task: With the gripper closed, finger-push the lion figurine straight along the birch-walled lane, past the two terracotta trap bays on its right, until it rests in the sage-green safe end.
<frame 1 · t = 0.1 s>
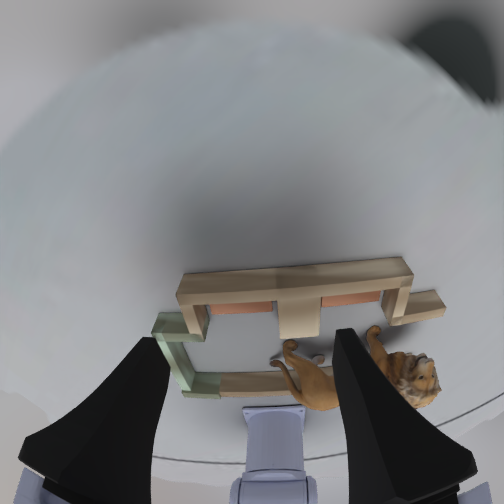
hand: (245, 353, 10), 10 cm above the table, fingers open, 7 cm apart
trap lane: (302, 345, 25), on the table
lion figurine: (347, 338, 24), resting in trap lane
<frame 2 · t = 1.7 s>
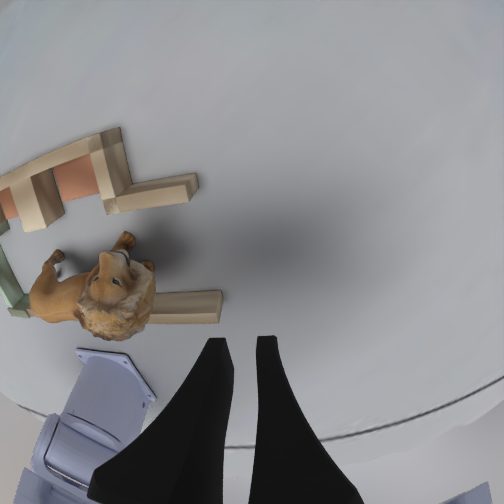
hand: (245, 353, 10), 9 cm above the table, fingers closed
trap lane: (73, 257, 20), on the table
lion figurine: (108, 252, 20), resting in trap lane
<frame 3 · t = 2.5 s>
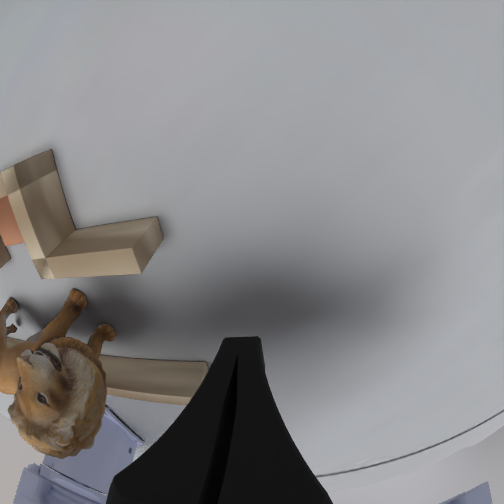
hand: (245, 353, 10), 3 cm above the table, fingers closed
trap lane: (29, 308, 14), on the table
lion figurine: (62, 307, 14), resting in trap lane
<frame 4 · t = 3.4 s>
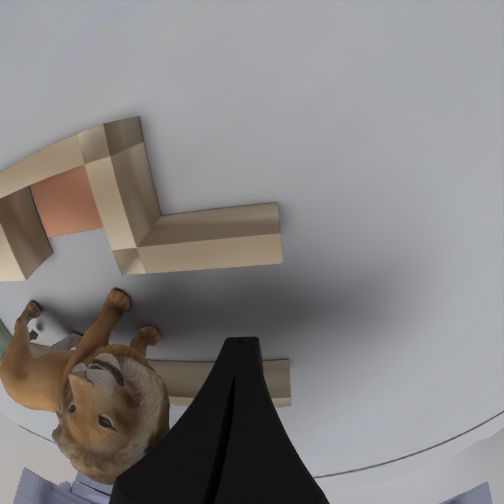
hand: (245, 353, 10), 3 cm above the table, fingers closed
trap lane: (71, 311, 14), on the table
lion figurine: (96, 310, 14), resting in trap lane, touching gripper
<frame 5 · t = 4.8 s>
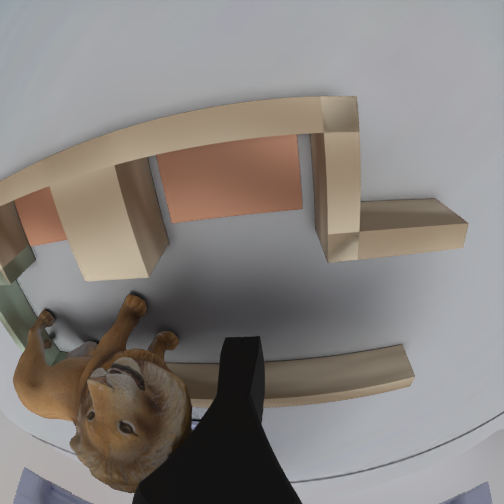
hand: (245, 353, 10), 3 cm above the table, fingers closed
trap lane: (173, 315, 13), on the table
lion figurine: (111, 316, 14), resting in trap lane, touching gripper
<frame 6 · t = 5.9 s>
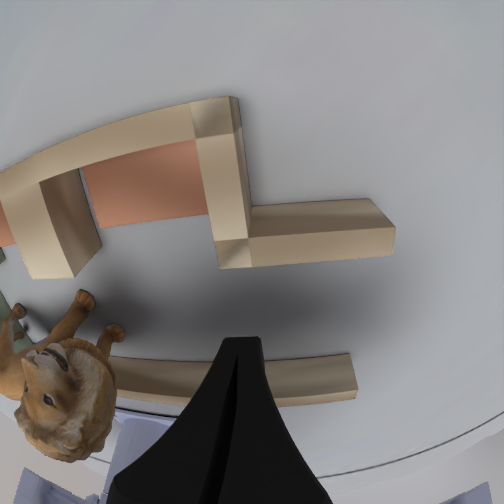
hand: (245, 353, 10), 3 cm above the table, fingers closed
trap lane: (115, 312, 13), on the table
lion figurine: (69, 310, 14), resting in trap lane
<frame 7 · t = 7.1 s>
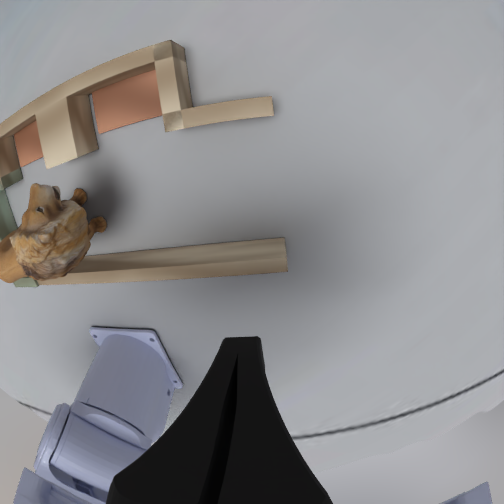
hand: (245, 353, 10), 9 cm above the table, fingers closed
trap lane: (101, 205, 18), on the table
lion figurine: (67, 213, 18), resting in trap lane
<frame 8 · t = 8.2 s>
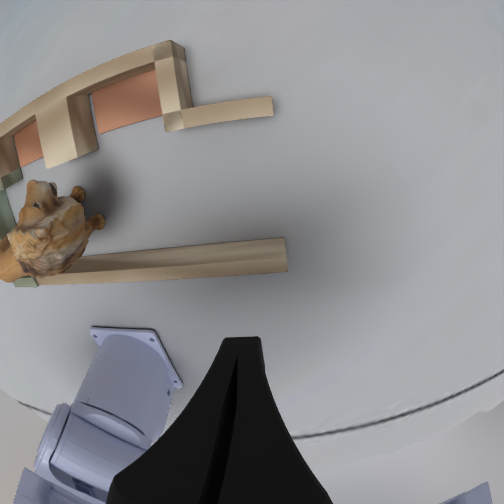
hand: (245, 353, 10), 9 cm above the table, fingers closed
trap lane: (101, 205, 18), on the table
lion figurine: (66, 212, 18), resting in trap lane
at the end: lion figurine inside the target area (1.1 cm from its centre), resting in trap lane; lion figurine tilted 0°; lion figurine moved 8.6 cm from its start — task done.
